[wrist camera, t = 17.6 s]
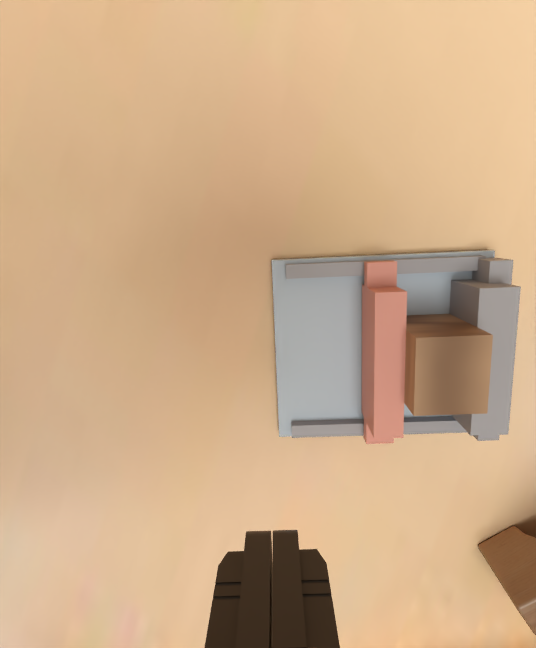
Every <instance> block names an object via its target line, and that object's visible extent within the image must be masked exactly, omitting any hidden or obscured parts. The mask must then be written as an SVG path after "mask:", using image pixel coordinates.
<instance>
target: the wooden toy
mask: <svg viewBox="0 0 536 648" xmlns="http://www.w3.org/2000/svg"><path fill="white" fill-rule="evenodd" d="M478 546H479V550H480V551H481V553H482V554H483V556H484V557H485V559H486V561H487V562H488V564H489V565H490V567H491V569H492V570H493V572H494V573H495V575H496V576H497V578H498V580H499V581H500V583H501V584H502V586H503V588H504V589H505V591H506V592H507V594H508V596H509V597H510V599H511V600H512V602H513V603H514V605H515V607H516V608H517V610H518V611H519V613H520V614H521V616H522V617H523V618H524V620H525V621H526V623H527V624H528V626H529V627H530V629H531V630H532V632H533V633H534V634H535V635H536V537H533V536H530V535H527V534H524V533H523V532H522V531H521V530H520V529H518V528H517V527H515V526H512V527H510V528H508V529H506V530H504V531H503V532H501V533H499V534H497V535H495V536H493V537H491V538H490V539H488V540H486V541H484V542H482V543H480V544H479V545H478Z"/></svg>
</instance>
